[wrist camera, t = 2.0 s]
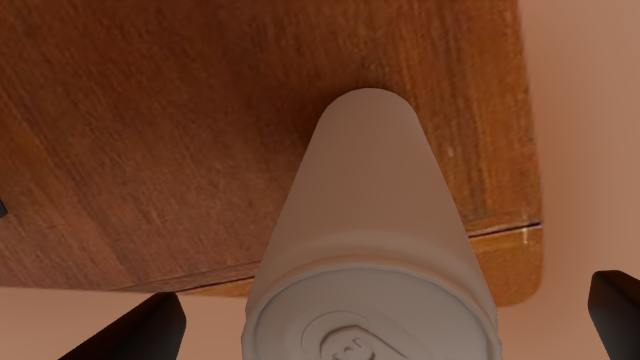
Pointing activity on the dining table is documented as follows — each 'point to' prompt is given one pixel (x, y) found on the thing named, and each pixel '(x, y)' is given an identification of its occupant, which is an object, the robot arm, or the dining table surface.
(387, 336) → the beverage can
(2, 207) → the waste bin
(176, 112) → the dining table surface
